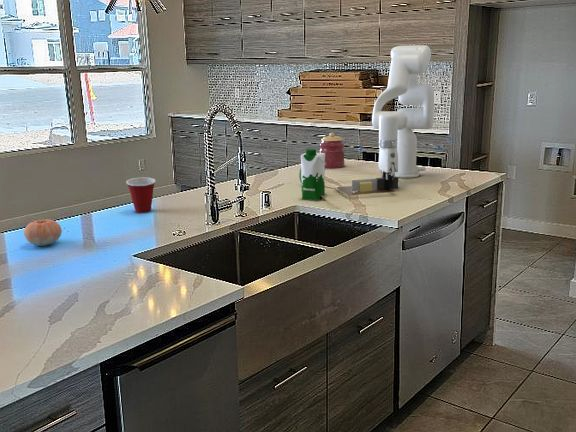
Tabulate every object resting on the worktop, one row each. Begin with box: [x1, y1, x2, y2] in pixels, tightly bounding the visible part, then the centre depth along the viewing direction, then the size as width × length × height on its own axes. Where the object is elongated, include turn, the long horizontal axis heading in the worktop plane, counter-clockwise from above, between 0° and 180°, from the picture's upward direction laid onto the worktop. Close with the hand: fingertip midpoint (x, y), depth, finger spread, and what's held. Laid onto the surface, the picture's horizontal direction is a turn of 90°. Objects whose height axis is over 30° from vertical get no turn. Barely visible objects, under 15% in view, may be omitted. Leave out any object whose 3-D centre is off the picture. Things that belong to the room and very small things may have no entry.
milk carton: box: [300, 148, 326, 201], centre depth 235 cm, size 9×9×20 cm
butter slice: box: [359, 182, 372, 192], centre depth 241 cm, size 5×2×4 cm, turn 105°
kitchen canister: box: [319, 131, 346, 169], centre depth 306 cm, size 13×13×18 cm
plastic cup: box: [125, 176, 157, 214], centre depth 221 cm, size 11×11×12 cm
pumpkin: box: [23, 218, 63, 247], centre depth 183 cm, size 11×11×8 cm
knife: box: [351, 176, 399, 191], centre depth 243 cm, size 20×2×4 cm, turn 105°
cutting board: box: [335, 185, 396, 196], centre depth 245 cm, size 20×16×2 cm
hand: (387, 187), depth 245 cm, fingers closed on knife, 2 cm apart
